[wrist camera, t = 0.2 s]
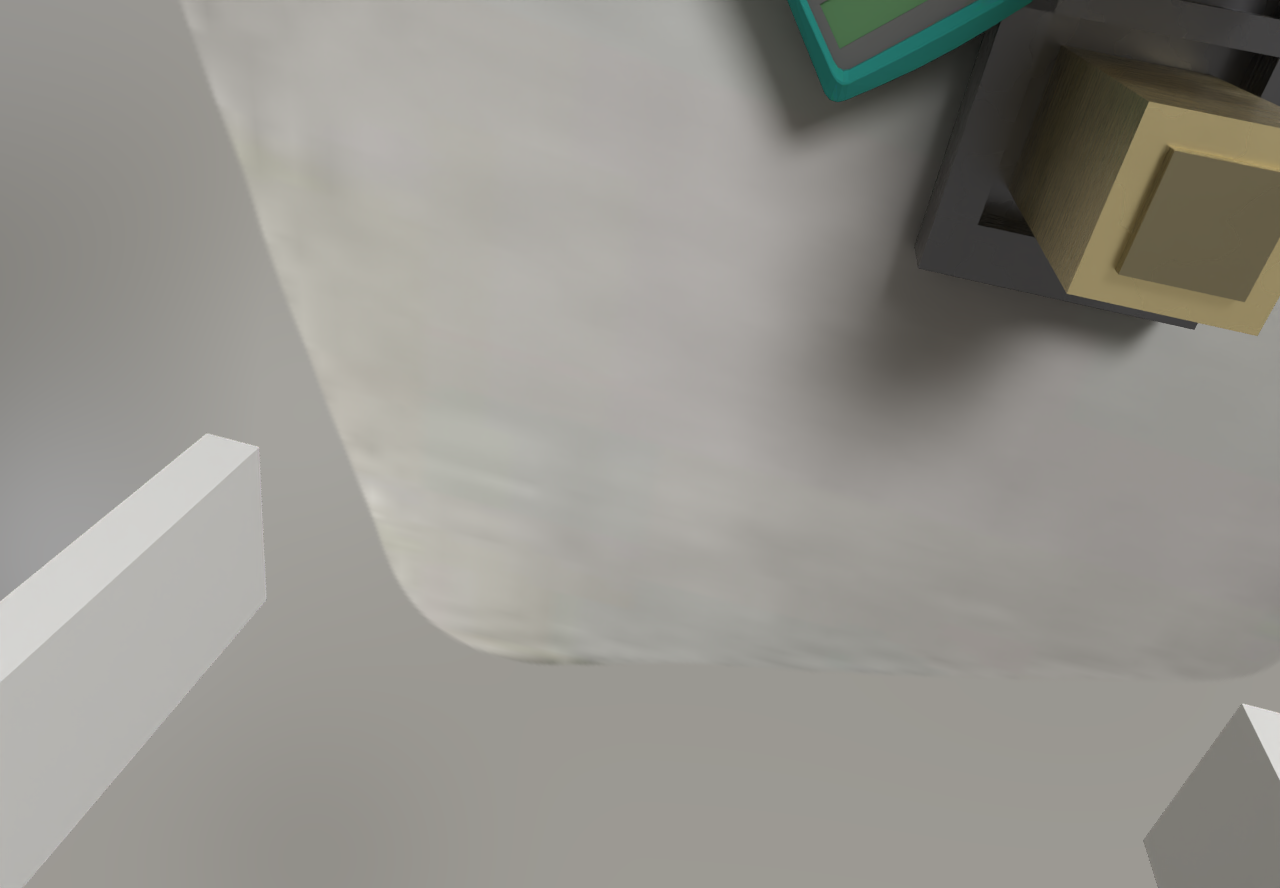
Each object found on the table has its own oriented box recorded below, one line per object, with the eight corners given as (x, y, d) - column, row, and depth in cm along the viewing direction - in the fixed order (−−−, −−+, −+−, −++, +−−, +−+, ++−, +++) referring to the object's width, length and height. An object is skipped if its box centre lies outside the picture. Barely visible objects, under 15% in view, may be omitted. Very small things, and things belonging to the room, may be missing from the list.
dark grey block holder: (1121, -382, 27) (1144, -407, 25) (1485, -324, 26) (1541, -344, 24) (914, 247, 37) (918, 268, 35) (1173, 304, 36) (1194, 329, 34)
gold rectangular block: (1061, 44, 32) (1153, 104, 22) (1210, 75, 32) (1371, 148, 22) (1008, 189, 34) (1069, 299, 25) (1145, 218, 34) (1263, 341, 24)
